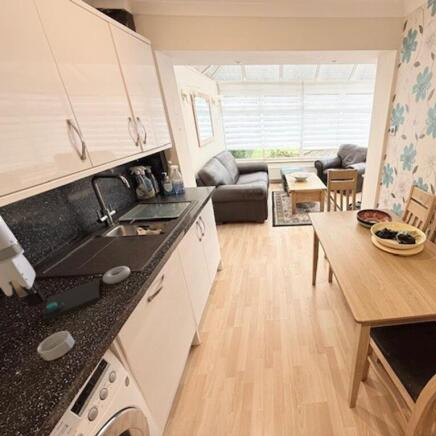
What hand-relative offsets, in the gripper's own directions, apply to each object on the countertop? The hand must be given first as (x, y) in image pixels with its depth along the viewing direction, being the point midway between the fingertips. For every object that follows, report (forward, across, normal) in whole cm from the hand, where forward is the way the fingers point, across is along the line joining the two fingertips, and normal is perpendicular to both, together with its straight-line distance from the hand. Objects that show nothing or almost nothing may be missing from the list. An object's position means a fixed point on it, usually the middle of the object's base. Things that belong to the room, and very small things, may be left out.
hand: (38, 303), depth 72 cm
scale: (+13, -17, +3) cm, 22 cm away
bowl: (+13, +8, 0) cm, 16 cm away
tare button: (+11, -13, -2) cm, 17 cm away
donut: (+14, -21, +18) cm, 31 cm away
